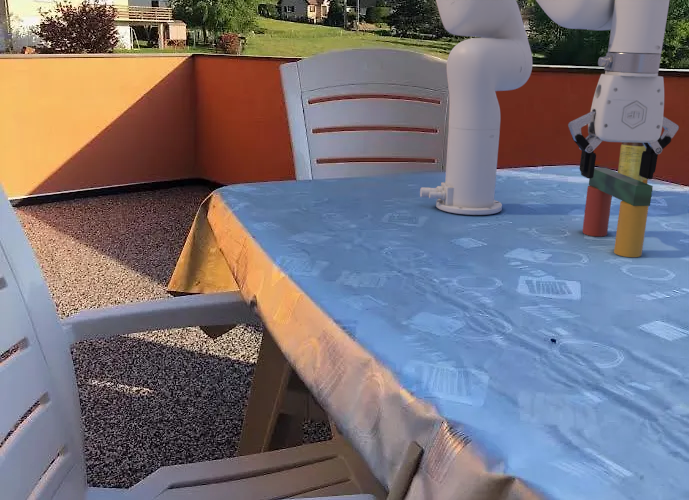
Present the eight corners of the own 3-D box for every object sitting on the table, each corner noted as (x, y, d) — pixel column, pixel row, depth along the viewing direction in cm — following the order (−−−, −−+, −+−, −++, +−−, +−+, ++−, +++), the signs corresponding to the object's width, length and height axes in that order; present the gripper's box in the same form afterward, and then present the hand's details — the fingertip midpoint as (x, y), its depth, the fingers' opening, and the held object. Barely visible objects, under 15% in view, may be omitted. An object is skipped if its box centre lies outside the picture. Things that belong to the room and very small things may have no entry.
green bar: (650, 205, 105) (652, 186, 104) (633, 205, 105) (635, 185, 104) (603, 185, 120) (605, 167, 119) (588, 185, 120) (590, 167, 119)
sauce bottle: (648, 196, 151) (661, 102, 146) (617, 195, 153) (629, 101, 147) (642, 190, 158) (654, 99, 152) (612, 189, 159) (624, 99, 153)
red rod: (588, 236, 118) (593, 189, 116) (578, 230, 122) (583, 184, 120) (611, 236, 119) (617, 189, 117) (600, 230, 123) (606, 185, 120)
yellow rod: (621, 257, 107) (628, 205, 105) (609, 250, 111) (615, 200, 109) (646, 257, 107) (653, 205, 105) (633, 250, 111) (640, 200, 109)
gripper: (587, 65, 103) (572, 181, 108) (700, 68, 104) (680, 182, 109) (567, 63, 110) (554, 172, 115) (673, 66, 111) (656, 173, 116)
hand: (616, 177), depth 112 cm, fingers open, 9 cm apart
